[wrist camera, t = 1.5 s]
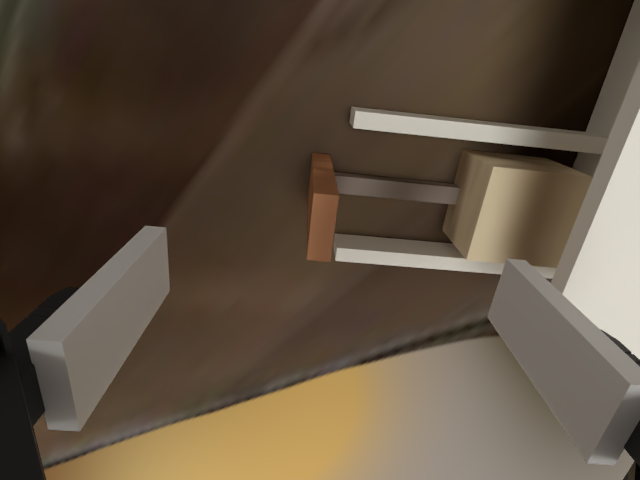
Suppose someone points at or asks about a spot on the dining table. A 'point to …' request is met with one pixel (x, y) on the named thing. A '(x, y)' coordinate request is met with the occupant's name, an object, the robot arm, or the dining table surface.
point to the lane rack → (595, 213)
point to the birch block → (468, 205)
